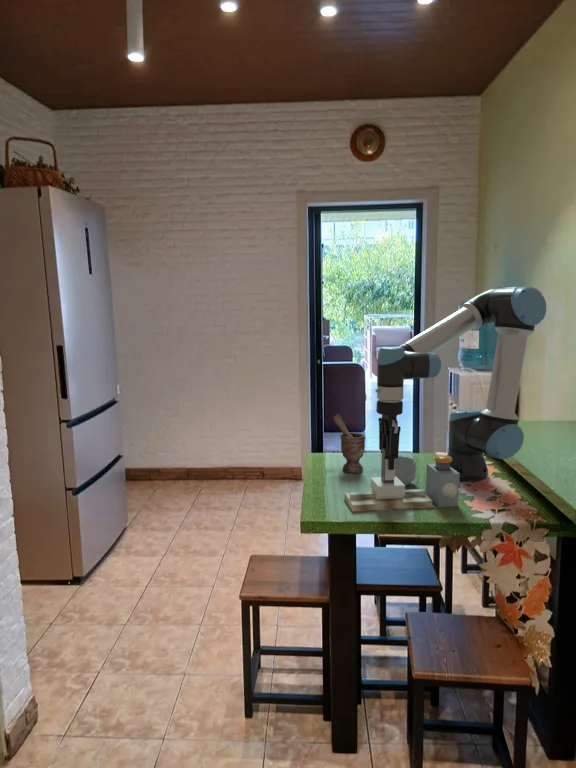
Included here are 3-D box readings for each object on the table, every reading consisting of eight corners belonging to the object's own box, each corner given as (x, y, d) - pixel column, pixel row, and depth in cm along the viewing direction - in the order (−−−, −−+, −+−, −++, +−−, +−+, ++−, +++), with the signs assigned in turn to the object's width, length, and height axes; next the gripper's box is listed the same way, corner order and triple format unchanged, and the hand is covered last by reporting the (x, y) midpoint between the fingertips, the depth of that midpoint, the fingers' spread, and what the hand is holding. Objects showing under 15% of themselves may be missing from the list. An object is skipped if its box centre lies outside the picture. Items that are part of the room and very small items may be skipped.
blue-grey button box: (444, 493, 167) (445, 463, 165) (458, 506, 156) (460, 473, 155) (425, 494, 166) (426, 464, 164) (439, 507, 156) (440, 474, 154)
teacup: (411, 490, 170) (412, 466, 168) (378, 486, 174) (378, 462, 173) (419, 478, 182) (420, 455, 181) (388, 473, 187) (389, 451, 185)
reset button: (446, 476, 163) (447, 454, 162) (454, 482, 158) (455, 459, 157) (430, 477, 163) (431, 455, 162) (437, 482, 158) (438, 460, 157)
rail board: (419, 495, 166) (419, 484, 165) (432, 507, 156) (432, 495, 155) (344, 499, 163) (344, 488, 162) (352, 511, 153) (352, 500, 152)
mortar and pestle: (330, 472, 188) (331, 417, 185) (333, 465, 196) (333, 412, 193) (363, 474, 186) (364, 419, 183) (364, 467, 194) (365, 413, 191)
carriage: (395, 490, 163) (396, 444, 161) (404, 499, 155) (406, 452, 153) (370, 491, 162) (371, 445, 160) (378, 501, 154) (379, 453, 152)
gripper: (369, 395, 162) (368, 469, 165) (385, 405, 146) (383, 487, 150) (393, 395, 163) (391, 468, 166) (411, 404, 147) (409, 486, 151)
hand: (387, 477), depth 158 cm, fingers closed on carriage, 3 cm apart
